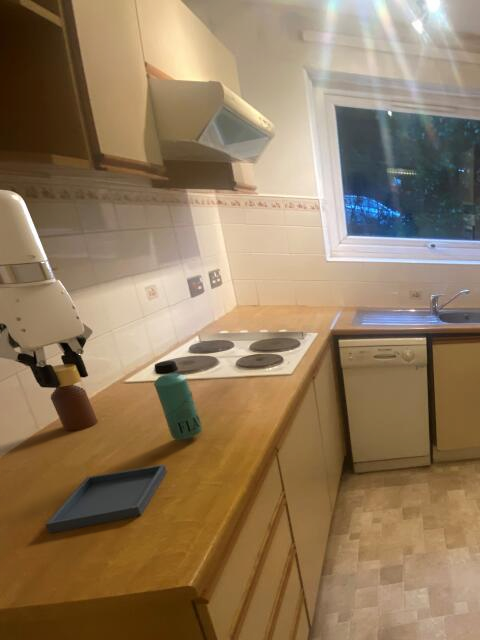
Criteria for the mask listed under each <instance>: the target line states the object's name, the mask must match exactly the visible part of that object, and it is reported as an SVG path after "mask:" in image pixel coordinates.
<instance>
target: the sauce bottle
mask: <svg viewBox="0 0 480 640" xmlns="http://www.w3.org/2000/svg"><path fill="white" fill-rule="evenodd" d="M50 400H51V403H52V405H53V407H54V410H55V412H56V414H57V416H58V418H59V421H60V423H61V425H62V427H63V429H64V431H66V432H76V431H82V430H85V429H89V428H91V427H93V426H95V425H96V424H98V423H99V421H98V419H97V416H96V413H95V411H94V408H93V405H92V404H91V401H90V399H89V397H88V394H87V391H86V390H85V389H84V388H83V387H80V386H78V385H76V384H72V385H68V386H62V387H57V388H54V391H53V392H52V393H51V395H50Z"/></svg>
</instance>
